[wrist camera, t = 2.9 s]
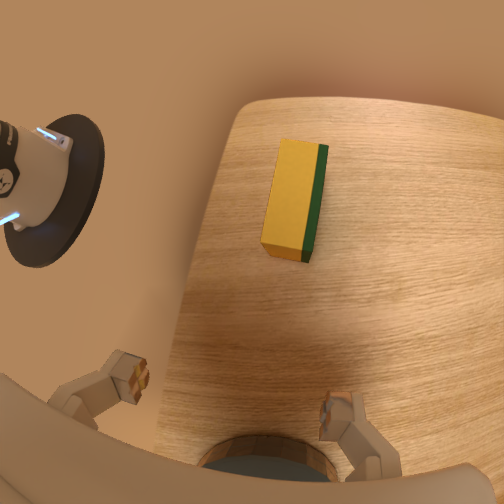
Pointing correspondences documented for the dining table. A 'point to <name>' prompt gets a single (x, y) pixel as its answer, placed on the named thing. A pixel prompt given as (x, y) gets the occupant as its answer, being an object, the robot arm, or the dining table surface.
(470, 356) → the dining table surface
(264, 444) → the bowl
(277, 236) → the sponge
